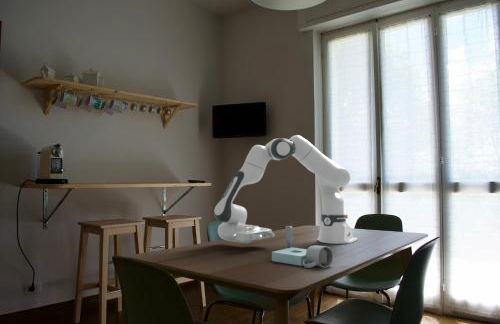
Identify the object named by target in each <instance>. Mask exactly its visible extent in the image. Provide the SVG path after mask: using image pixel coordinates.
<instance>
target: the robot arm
mask: <svg viewBox="0 0 500 324" xmlns="http://www.w3.org/2000/svg"><path fill="white" fill-rule="evenodd" d="M290 156H292V157H294V158H295V159H296V160H297V161H298V162H299V163H300V164H301V165H302V166H304V168H306V169H307V170H308V171H309V172H311V173H313V174H315V180H316V183H317V185H318V187H319V188H318V189H319V192H320V197H321V208H322V209H321V223H320V225H319V231H318V232H319V233H318V237H317V239H316V240H317V241H319V242H320V243H322V244H323V243H325V244H352V243H353V242H355V241H357V240H358V237H354V236H353V235H354V234H353V229H352V228H351V226H350V225H349V224H348V223H347V220H346V219H348V218H349V217H348V216H349V215H348V214H345V210H344V206H345V205H344V197H343V196H342V194H341V190H340V188H343V187H345V186H347V185H348V184H349V183H350V180H351V174H350V172H349V170H347V168H345V167H343V166H341V165H340V164H338V163H336V162H335V161H333V160H332V159H330V158H329V157H327V156H326V155H325V154H324V153H323V152H321V151H320V150H319V149H318V148H317V147H316V146H315V145H314V144H312V143H311V142H310V141H309V140H308V139H306V138H304V137H303V136H301V135H299V134H296V135H295V134H294V135H292V136H291V137H290V138H284V137H278V138H274V139H272V140H270V141H268V142H267V143H266V144H264V145H261V144H255V145H254V146H252V147H251V148H250V150H249V152H248V154H247V155H246V158H245V161H244V163H243V164H242V166H241V168H240V169H239V170H238V171H237V172H236V173H234V175H233V176H232V177H231V179H230V182H228V185H227V186H226V188H225V190H224V191H223V194H222V195H221V197H220V199H219V200H218V201H217V203H216V204H215V205H214V208H213V215H214V218H215V219H216V221H218V222H221V223H220V224H219V225H218V226H217V234H218V236H219V238H220V239H222V240H225V241H228V242H237V243H241V244H250V243H251V242H253V241H256V240H263V239H267V238H274V237H275V236H276V234H275V232H273V230H272V229H271V228H268V227H260V226H259V225H252V224H246V223H247V220H248V211H247V209H246V207H244V206H242V205H239V204H234V203H233V202H234V200H235V198H236V197H237V195H238V193H239V191H240V190H241V188H243V187H245V186H247V185H253V184H256V183H259V182H260V181H261V179H262V178H263V176H264V173H265V171H266V168H267V165H268V163H269V162H270V161H282V160H285V159H288V158H289V157H290Z"/></svg>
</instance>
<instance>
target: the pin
mask: <svg viewBox="0 0 500 324" xmlns="http://www.w3.org/2000/svg"><path fill="white" fill-rule="evenodd" d="M284 228H285V249H287V248H292V247H293V248H294V245H293V241H294V239H293V238H294V237H293V225H285V227H284Z"/></svg>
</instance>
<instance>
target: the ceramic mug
mask: <svg viewBox="0 0 500 324" xmlns="http://www.w3.org/2000/svg"><path fill="white" fill-rule="evenodd" d="M306 249H307V251H306V259H305V260H304V261H303V265H302V266H303V267H304V268H305V269H310V268H314V267H315V266H316V267H320V268H324V269H326V268H328V267H330V266H331V265H332V264H333V261H334V253H333V250H332V249H331V247H329V246H327V245H315V244H314V245H311V246H308V247H307V248H306ZM307 262H309V264H306V263H307Z"/></svg>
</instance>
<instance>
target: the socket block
mask: <svg viewBox="0 0 500 324" xmlns="http://www.w3.org/2000/svg"><path fill="white" fill-rule="evenodd" d="M307 249H308V248H301V247H300V248H299V247H294V246H293V247H292V248H287V249H286V248H283V249H279V250H278V249H277V250H275V251H271V262H276V263H282V264H289V265H294V266H300V267H302V266H303V261H304V260H305V259H306V251H307ZM306 264H310V263H309V262H307V263H306Z"/></svg>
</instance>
